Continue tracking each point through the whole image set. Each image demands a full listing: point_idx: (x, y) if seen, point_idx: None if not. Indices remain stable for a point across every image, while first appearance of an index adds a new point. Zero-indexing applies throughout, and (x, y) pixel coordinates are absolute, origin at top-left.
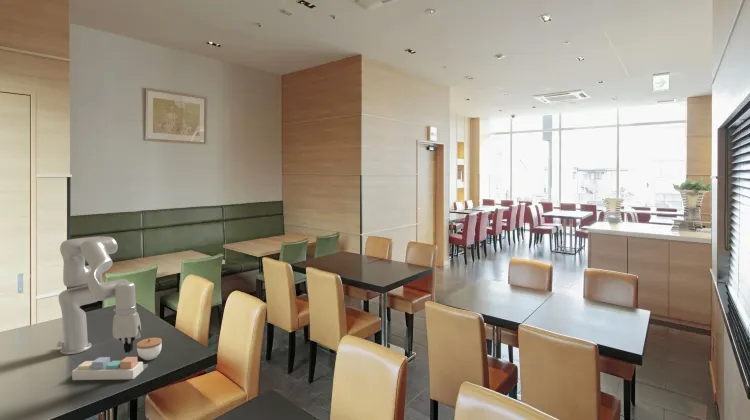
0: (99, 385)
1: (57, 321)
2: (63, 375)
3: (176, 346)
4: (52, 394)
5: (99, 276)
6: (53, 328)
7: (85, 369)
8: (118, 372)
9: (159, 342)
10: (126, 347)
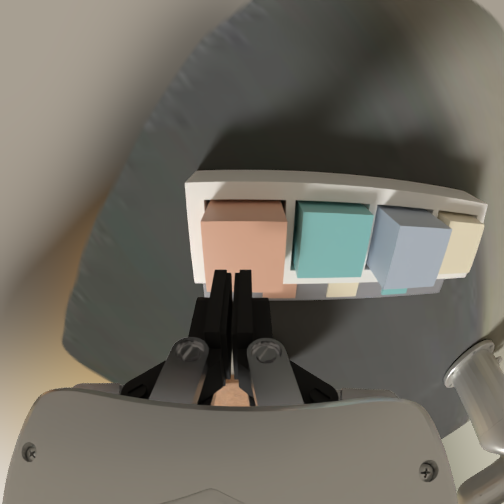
0: (341, 115)
1: None
2: (488, 231)
3: None
4: (471, 86)
5: None
6: None
7: (452, 214)
8: (278, 178)
9: None
10: (233, 306)
